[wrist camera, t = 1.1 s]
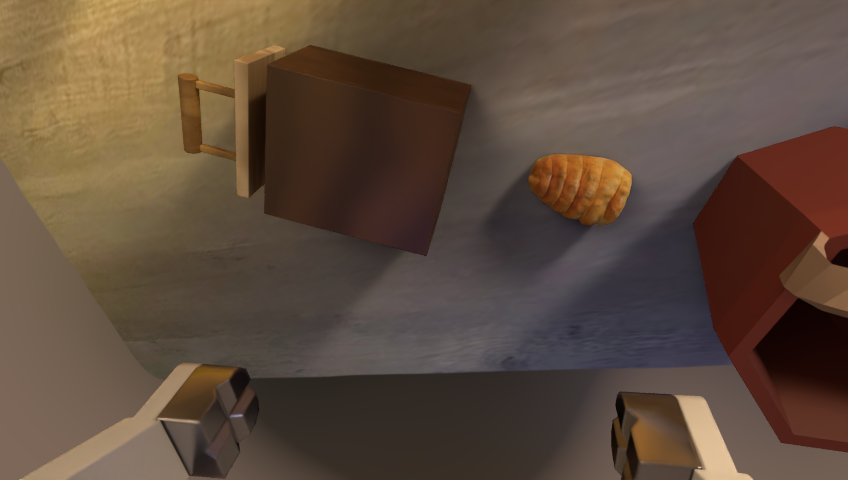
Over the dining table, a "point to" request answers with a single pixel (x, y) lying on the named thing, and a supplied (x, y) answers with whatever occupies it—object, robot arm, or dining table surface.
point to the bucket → (785, 282)
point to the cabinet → (360, 146)
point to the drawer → (247, 116)
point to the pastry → (581, 187)
